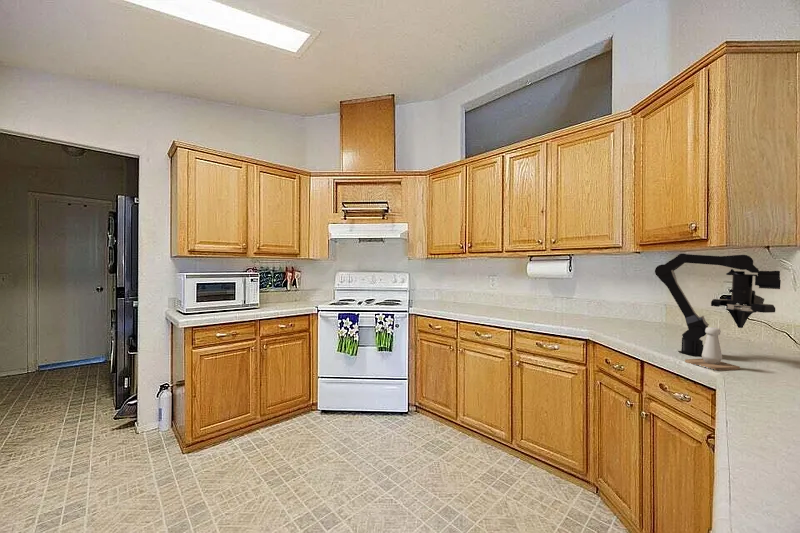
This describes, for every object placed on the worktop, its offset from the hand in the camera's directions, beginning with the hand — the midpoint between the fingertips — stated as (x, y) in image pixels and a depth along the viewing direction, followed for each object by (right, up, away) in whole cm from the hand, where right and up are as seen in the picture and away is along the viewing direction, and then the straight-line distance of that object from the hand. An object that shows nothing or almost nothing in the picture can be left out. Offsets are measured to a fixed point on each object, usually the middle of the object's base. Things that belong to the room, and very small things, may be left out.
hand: (740, 327), depth 143 cm
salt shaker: (-16, -12, -6) cm, 21 cm away
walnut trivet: (-16, -13, -6) cm, 22 cm away
